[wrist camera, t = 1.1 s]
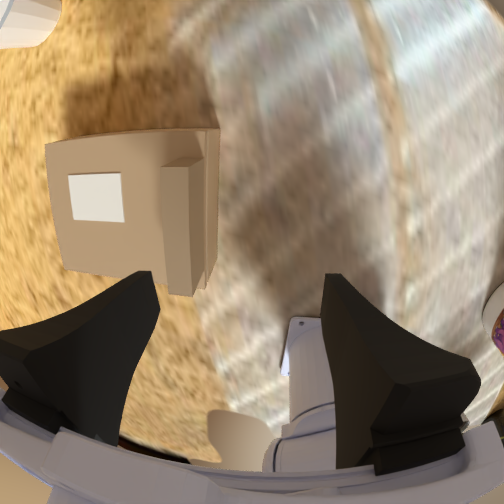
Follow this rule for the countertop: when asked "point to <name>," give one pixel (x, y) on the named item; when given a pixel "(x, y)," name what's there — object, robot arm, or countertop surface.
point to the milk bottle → (495, 318)
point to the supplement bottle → (497, 422)
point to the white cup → (27, 21)
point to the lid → (132, 205)
